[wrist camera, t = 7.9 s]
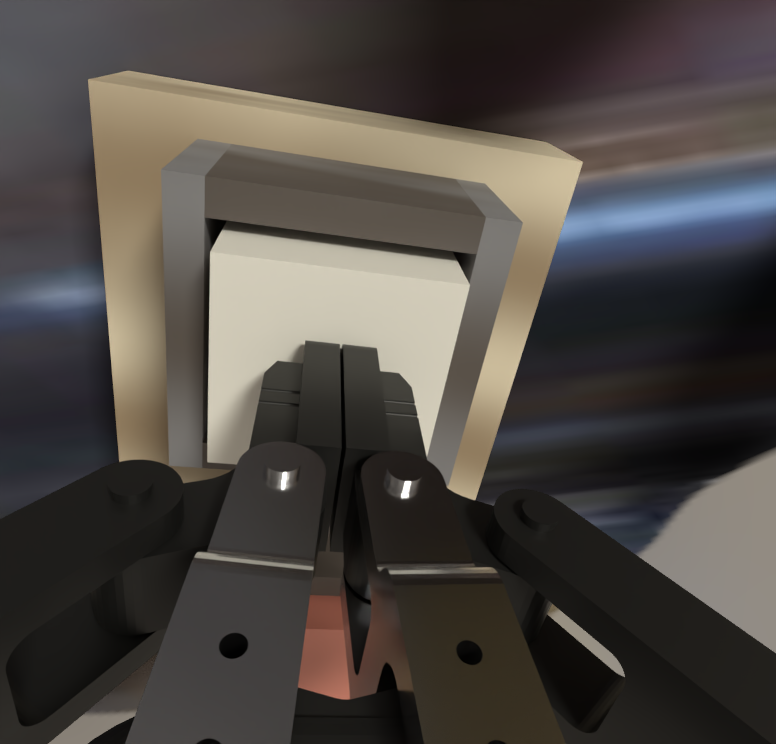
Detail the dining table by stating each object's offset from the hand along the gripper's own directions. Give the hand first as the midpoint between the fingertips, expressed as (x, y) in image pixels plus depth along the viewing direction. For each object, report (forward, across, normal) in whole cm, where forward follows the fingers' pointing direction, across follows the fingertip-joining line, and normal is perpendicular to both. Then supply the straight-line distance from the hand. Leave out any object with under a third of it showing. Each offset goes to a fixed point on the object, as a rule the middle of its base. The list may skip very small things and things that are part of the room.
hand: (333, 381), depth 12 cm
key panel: (+8, 0, +6) cm, 9 cm away
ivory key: (+3, 0, 0) cm, 3 cm away
